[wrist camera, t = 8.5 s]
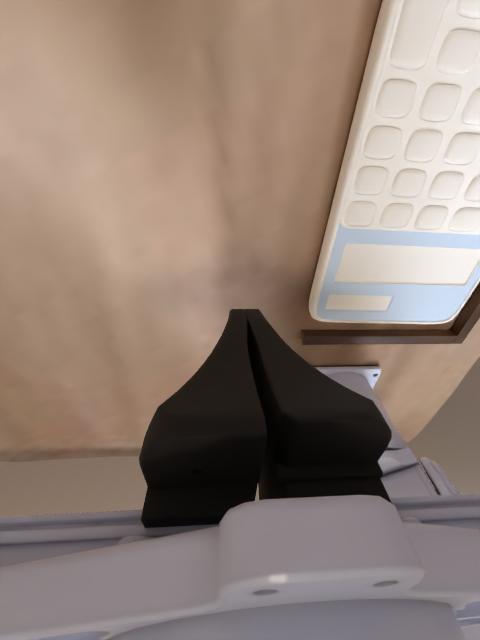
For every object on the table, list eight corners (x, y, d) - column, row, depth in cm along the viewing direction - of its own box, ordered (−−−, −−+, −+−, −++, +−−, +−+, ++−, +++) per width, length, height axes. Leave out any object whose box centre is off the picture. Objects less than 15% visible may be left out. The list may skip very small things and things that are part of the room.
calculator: (639, -12, 13) (696, -33, 11) (440, 316, 24) (455, 328, 23) (389, -46, 12) (414, -74, 10) (303, 313, 23) (309, 325, 22)
